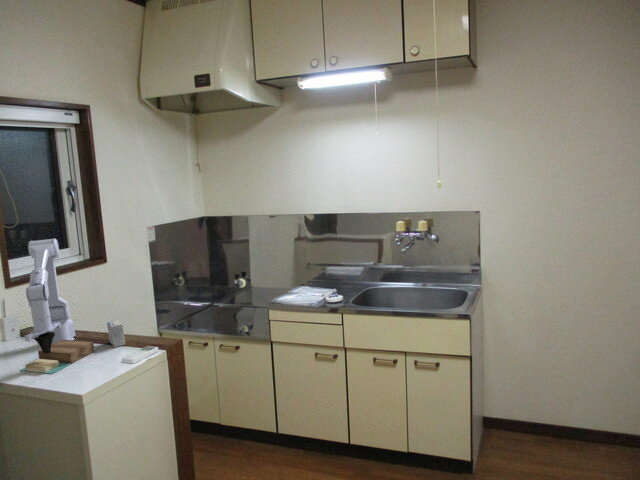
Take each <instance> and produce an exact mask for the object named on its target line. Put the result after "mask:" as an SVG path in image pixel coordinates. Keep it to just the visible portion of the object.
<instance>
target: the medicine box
mask: <svg viewBox="0 0 640 480" xmlns="http://www.w3.org/2000/svg"><path fill="white" fill-rule="evenodd" d="M106 325H107V331H108V340H109V343H110V344H111V345H112V346H113V347H114V348H118V347H121V346H125V345H126V341H125V339H126V338H125V332H124V331H125V330H124V326H123V323H122V322H120V320H118V319H116V320H112V321H108V322H106Z"/></svg>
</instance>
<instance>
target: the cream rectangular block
mask: <svg viewBox="0 0 640 480" xmlns="http://www.w3.org/2000/svg"><path fill="white" fill-rule="evenodd" d="M58 366H59V363H58V361H57V360H45V359H39V358H37V359H35V360H33V361H31V362H29V363H27V364H26V365H25V367H26V371H34V372H33V373H36V372H44V373H43V374H46V372H48V371H50V370H52V369H54V368H56V367H58ZM25 367H24V368H25ZM26 371H25V372H26Z"/></svg>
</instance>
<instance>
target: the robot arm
mask: <svg viewBox="0 0 640 480" xmlns="http://www.w3.org/2000/svg"><path fill="white" fill-rule="evenodd" d="M27 249H28V254H29V256H31V258H32V259H33V260H34V261H33V265H34V269H32V270H31V271H30V275H29V285H28V287H26V288H25V296H26V299H27V302H28V307H29V308H30V313H31V318H32V325H33V330H32V331H30V332H29V333H28V334H25V335H24V341H25V342H31V341H32V340H35V342H36V343H37V344H38V346H39V347H40V350H41V349H42V351H43V353H45V354H48V353H50V352H51V345H52V344H54V343H56V342H58V341H60V340H76V339H75V338H73V337H74V336H76V329H75V324H74V322H73V320H72V319H71V309H70V306H69V302H68V300H66V299H65V298H62V297H60V291H59V283H58V278H57V277H58V275H57V271H56V269H57V268H56V259H57V258H59V257H60V248H59V242H58V239H56V238H49V239H40V240H30V241H28V245H27Z"/></svg>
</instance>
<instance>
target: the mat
mask: <svg viewBox="0 0 640 480" xmlns="http://www.w3.org/2000/svg"><path fill="white" fill-rule="evenodd" d="M58 363H59V366H58V367H56V368H54V369H52V370H50V371H48V372H46V373H44V372H34V371H26V367H23V368H21V369H19V371H20V372H28V373H37V374H45V375H46V374H49V375H53V374H56V373H58V372H60V371H61V370H63V369H65V368H67V367H69V366H70V365H72V364H71V363H60V362H58Z"/></svg>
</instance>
